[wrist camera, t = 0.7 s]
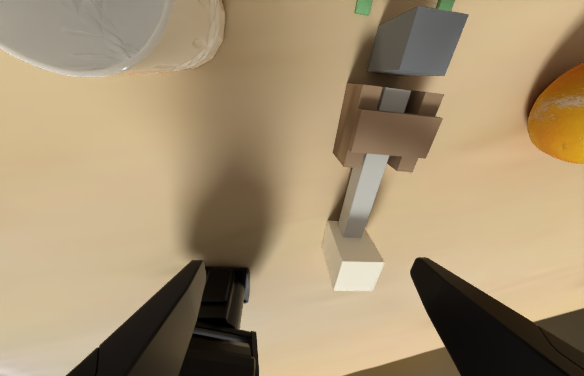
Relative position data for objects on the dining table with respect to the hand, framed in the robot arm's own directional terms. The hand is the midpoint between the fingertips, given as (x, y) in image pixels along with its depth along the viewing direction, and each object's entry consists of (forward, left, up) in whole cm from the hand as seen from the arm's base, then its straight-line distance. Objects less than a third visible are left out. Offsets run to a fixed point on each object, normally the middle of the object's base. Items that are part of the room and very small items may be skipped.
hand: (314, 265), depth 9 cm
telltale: (+10, -7, -13) cm, 17 cm away
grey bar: (-2, -7, -13) cm, 15 cm away
